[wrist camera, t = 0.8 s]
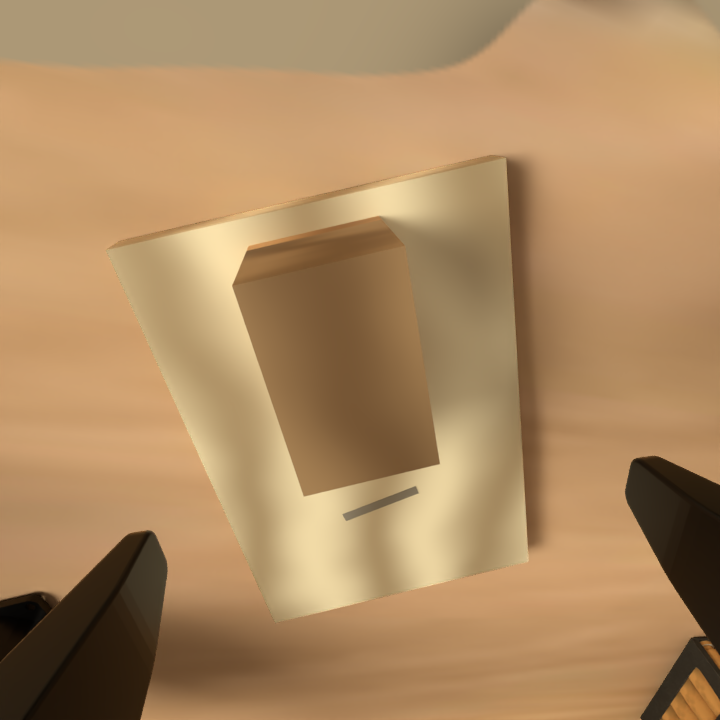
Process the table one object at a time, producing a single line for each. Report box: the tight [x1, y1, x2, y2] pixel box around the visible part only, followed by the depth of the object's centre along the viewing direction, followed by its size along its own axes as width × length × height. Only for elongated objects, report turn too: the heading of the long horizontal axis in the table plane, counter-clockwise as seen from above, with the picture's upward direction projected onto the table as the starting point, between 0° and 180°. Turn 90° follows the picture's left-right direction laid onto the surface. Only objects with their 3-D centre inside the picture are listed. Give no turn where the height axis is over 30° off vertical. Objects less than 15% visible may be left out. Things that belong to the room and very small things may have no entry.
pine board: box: [106, 155, 529, 623], centre depth 23 cm, size 15×22×2 cm
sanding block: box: [232, 216, 440, 497], centre depth 17 cm, size 5×8×5 cm, turn 12°
